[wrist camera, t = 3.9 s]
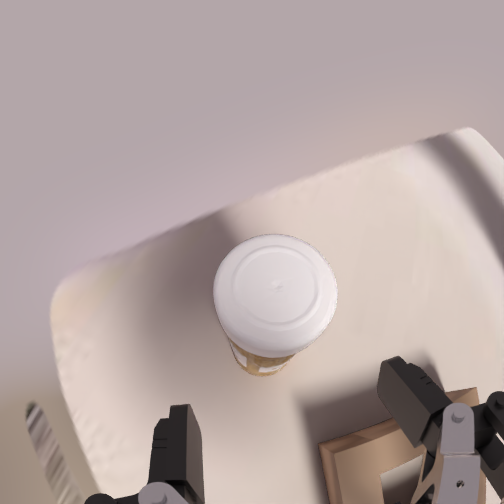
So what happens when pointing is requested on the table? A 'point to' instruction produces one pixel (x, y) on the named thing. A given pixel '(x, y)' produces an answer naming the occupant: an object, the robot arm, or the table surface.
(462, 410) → the robot arm
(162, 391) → the table surface
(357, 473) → the walnut bottle stand
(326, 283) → the sprinkles bottle
